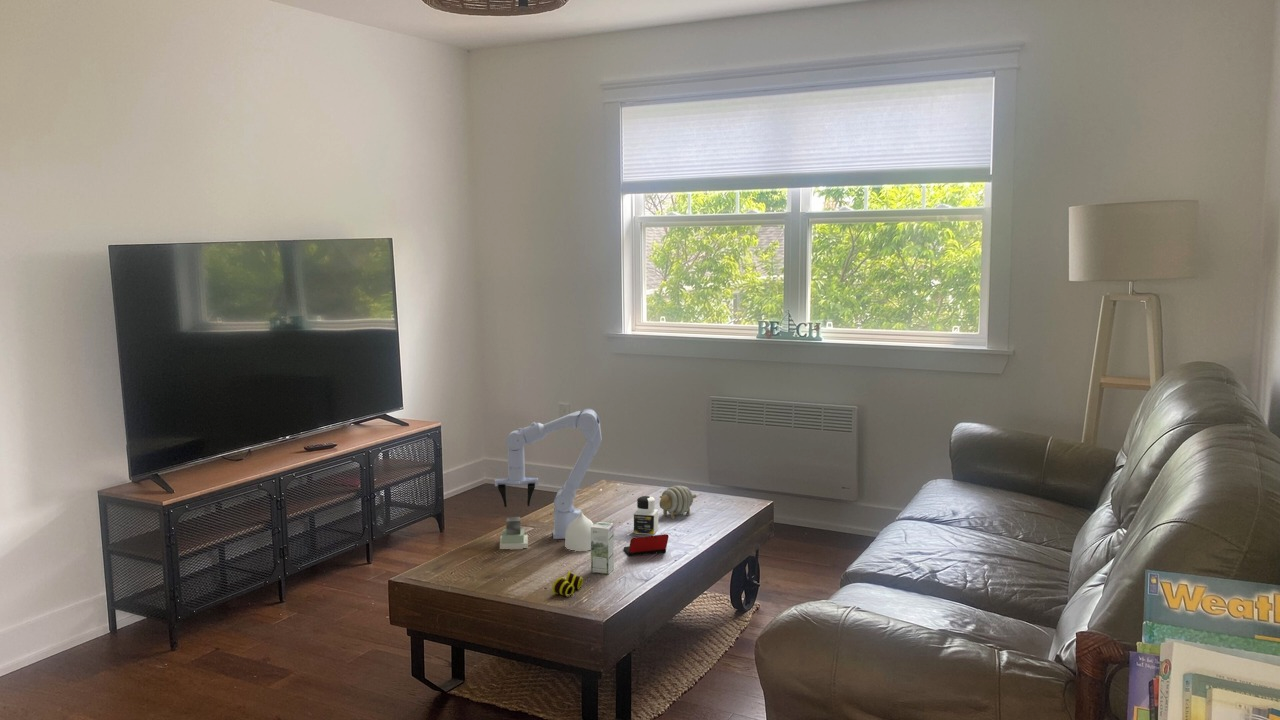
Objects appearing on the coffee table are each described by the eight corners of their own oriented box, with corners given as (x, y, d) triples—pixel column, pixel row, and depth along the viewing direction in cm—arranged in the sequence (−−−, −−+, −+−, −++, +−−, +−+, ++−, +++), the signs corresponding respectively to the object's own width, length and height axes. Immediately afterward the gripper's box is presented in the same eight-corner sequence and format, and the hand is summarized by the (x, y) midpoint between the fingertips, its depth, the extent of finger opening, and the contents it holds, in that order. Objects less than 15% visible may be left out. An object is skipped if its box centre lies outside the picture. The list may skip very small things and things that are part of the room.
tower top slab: (524, 536, 298) (524, 528, 298) (523, 542, 291) (523, 535, 291) (503, 536, 297) (503, 529, 297) (501, 543, 290) (501, 536, 290)
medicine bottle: (633, 533, 306) (633, 499, 304) (638, 527, 313) (638, 494, 311) (653, 535, 304) (653, 500, 303) (658, 528, 311) (658, 495, 310)
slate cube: (520, 530, 296) (520, 516, 296) (520, 534, 292) (520, 520, 291) (506, 530, 296) (506, 517, 295) (506, 534, 291) (506, 521, 291)
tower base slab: (527, 542, 300) (527, 534, 299) (527, 550, 291) (527, 543, 290) (500, 543, 298) (500, 535, 298) (499, 552, 290) (499, 544, 289)
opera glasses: (567, 601, 248) (569, 585, 247) (550, 595, 250) (553, 579, 249) (583, 589, 257) (585, 573, 256) (567, 583, 259) (569, 567, 258)
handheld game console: (659, 546, 293) (659, 524, 292) (669, 557, 283) (669, 534, 282) (622, 550, 290) (622, 527, 289) (631, 560, 279) (631, 537, 279)
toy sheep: (651, 516, 325) (651, 487, 324) (683, 507, 337) (683, 479, 335) (671, 523, 318) (671, 492, 316) (704, 513, 329) (704, 484, 328)
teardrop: (577, 539, 300) (576, 504, 299) (604, 544, 295) (604, 509, 293) (558, 548, 291) (557, 512, 290) (586, 554, 285) (585, 517, 284)
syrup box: (614, 568, 272) (614, 522, 270) (608, 575, 266) (608, 527, 264) (596, 566, 273) (596, 520, 272) (590, 573, 268) (590, 526, 266)
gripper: (494, 470, 297) (494, 509, 298) (537, 468, 298) (538, 508, 300) (494, 465, 303) (495, 504, 305) (537, 463, 305) (538, 502, 307)
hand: (517, 505), depth 303 cm, fingers open, 7 cm apart
